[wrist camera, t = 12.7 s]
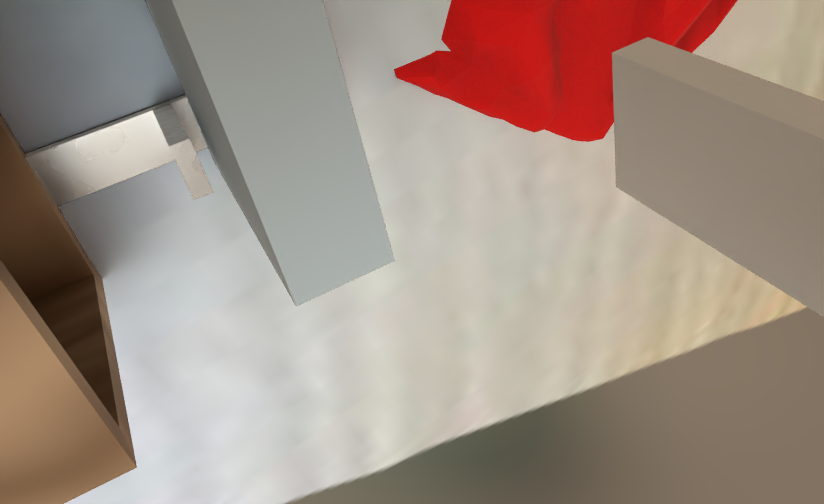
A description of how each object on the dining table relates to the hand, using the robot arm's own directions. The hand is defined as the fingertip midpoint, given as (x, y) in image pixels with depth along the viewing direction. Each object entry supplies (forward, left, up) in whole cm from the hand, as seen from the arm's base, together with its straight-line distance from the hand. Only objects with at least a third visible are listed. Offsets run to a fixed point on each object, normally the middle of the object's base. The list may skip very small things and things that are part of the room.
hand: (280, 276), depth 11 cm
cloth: (+9, +23, -22) cm, 33 cm away
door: (+1, +2, -21) cm, 21 cm away
